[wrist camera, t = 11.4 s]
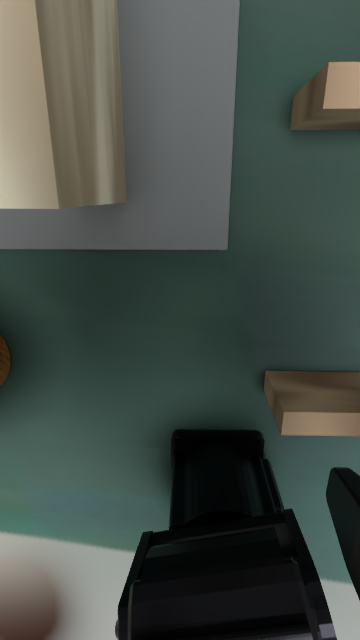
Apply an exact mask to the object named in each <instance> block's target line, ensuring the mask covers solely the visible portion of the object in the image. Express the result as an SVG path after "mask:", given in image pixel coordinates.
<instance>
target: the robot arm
mask: <svg viewBox="0 0 360 640" xmlns="http://www.w3.org/2000/svg"><path fill="white" fill-rule="evenodd" d="M177 437H179V438H181V439H176V438H177ZM255 439H259V440H257V441H255ZM263 449H264V438H263V435H262V434H261V433H259V432H232V431H175V432H173V434H172V437H171V465H172V485H171V502H170V519H169V530H166V531H160V532H153V531H148V532H143V534H142V537H141V539H140V542H139V545H138V547H137V550H136V553H135V556H134V559H133V562H132V565H131V568H130V572H129V574H128V577H127V581H126V583H125V587H124V590H123V593H122V596H121V599H120V602H119V605H118V620H117V622H116V626H115V634H116V637H117V639H118V640H337V638H336V634H335V630H334V626H333V623H332V619H331V615H330V612H329V608H328V605H327V602H326V599H325V595H324V592H323V589H322V586H321V582H320V579H319V576H318V573H317V570H316V568H315V565H314V562H313V560H312V557H311V555H310V552H309V550H308V547H307V545H306V542H305V540H304V537H303V535H302V532H301V530H300V527H299V525H298V522H297V520H296V517H295V515H294V512H293V510H292V509H286V510H284V506H283V503H282V500H281V497H280V493H279V490H278V487H277V484H276V480H275V477H274V474H273V471H272V467H271V464H270V462H269V461H268V460H267V459H262V458H263ZM326 499H327V503H328V506H329V510H330V513H331V517H332V520H333V523H334V527H335V530H336V533H337V537H338V540H339V544H340V547H341V550H342V554H343V557H344V560H345V563H346V566H347V569H348V572H349V575H350V577H351V580H352V582H353V585H354V587H355V590H356V592H357V594H358V597H359V600H360V476H359V475H358V474H356V473H355V472H354V471H353V470H351V469H349V468H345V467H334V468H332V469H331V471H330V475H329V480H328V485H327V490H326Z"/></svg>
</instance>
